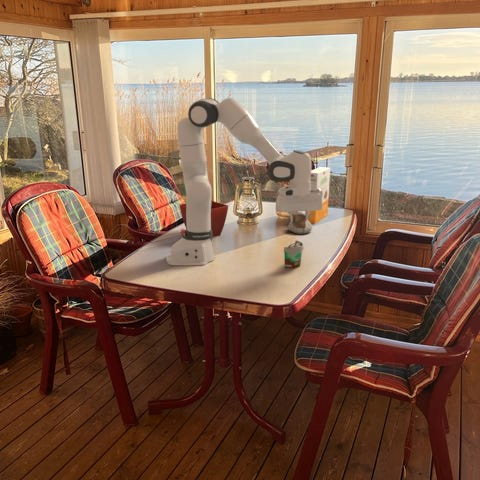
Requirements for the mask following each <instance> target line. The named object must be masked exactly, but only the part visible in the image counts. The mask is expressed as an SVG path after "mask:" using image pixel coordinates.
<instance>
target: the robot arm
mask: <svg viewBox="0 0 480 480" xmlns="http://www.w3.org/2000/svg"><path fill="white" fill-rule="evenodd" d="M187 111H188V112H187V117H184V118H182V119H180V120H179V121H178V122H177V144H178V151H179V155H180V157H179V158H180V164H181V169H182V170H181V171H182V177H183V183H184V189H185V195H186V197H185V199H186V201H185V202H186V203H185V204H186V222H187V229H186V228H185V229H184V228H181V229H180V234H181V235H182V237H181V238H180V239H179V240H178V241H176V242H175V243H173V244H172V246H171V247H170V248H171V249H170V253H168V254H167V255H166V257H165V261H166V263H167V264H168V265H170V266H205V265H206V264H208V263H210V262H212V261H214V260H215V259H216V257H215V254H214V249H213V243H212V241H213V237H212V229H211V201H212V197H213V196H212V195H213V194H212V193H213V189H212V185H211V183H210V180H209V175H208V165H207V163H208V162H207V161H208V160H207V156H206V155H207V154H206V148H205V147H206V146H205V140H204V129H205V128H206V127H210V126H212V125H213V124H215V123H217V122H218V123H221V124H222V125H223V126H224V127H225V128H226V129H227V130H228V131H229V133H230V134H231V135H232V136H233V137H234V138H235V139H236V140H237V141H239V142H240V143H243V144H246V145H249V146H251V147H254V149H256V150H257V152H258V153H260V155H261V156H262V157H263V158H264V159H265V160H266V162H267V163H268V169H267V174H268V177H269V179H271V180H272V181H274V182H276V183H282V182H289V184H288V185H285V186H283V187H280V188H278V193H279V194H278V195H277V197H276V201H275V209H276V211H277V212H278V213H287V214H288V215H289V218H290V219H289V220H290V222H295V217H293V216H292V214H293V212H306V214H305V213H304V215H305V216H306V221H307V217H308V216H309V214H310V211H315V210H321V209H322V196H323V192H322V190H320V189H310V188H311V181H310V175H311V171H312V157H311V155H310V153H308V152H306V151H302V150H293V151H292V152H290V153H289V154H287V155H286V154H283V153H282V152H279V150H277V148H275V146H274V145H273V143H272V142H270V141H269V140H268V139H267V137H266V135H264V132H263V131H262V130H261V128H260V126H259V125H258V124H257V123H258V122H256V120H255V119H254V117H253V116H252V115H251V113H250V112H249V111H248V110H247V109H246V108H245V107H244V106H243V105H242V104H241V103H240V102H238V101H237V100H236V99H235V98H233V97H227V98H225V99H223V100H222V101H220V102H219V101H217V100H216V99H215V98H212V97H206V98H201V99H199V100H196V101H195V102H193V103H192V104H191V105H190V106H189V108H188V110H187Z"/></svg>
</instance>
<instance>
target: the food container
mask: <svg viewBox="0 0 480 480" xmlns="http://www.w3.org/2000/svg"><path fill="white" fill-rule="evenodd" d="M304 249H305V247H304V244H303V242H302V241H300V240H295V242H294V243H291V244H289V245H288V246H287V247H286V246H284V247H283V252H284V258H283V259H284V269H298V268H299V267H301V262H302V255H303V254H302V253H303V251H304ZM297 267H298V268H297Z"/></svg>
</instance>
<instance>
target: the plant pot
mask: <svg viewBox="0 0 480 480" xmlns="http://www.w3.org/2000/svg"><path fill="white" fill-rule="evenodd" d="M179 210H180V214H181V215H180V216H181V218H182V221H183V223H184V226H185V230H186V229H187V222H186V203H181V204H179ZM228 210H229V205H228V204H225V203H221V202H217V201H214V200H211V229H212V238H215V237H218V236H219V237H220V236H222V235H221V234H222V233H223V230H224V227H225V224H226V220H227V216H228Z"/></svg>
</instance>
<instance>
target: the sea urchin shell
mask: <svg viewBox="0 0 480 480" xmlns="http://www.w3.org/2000/svg"><path fill="white" fill-rule="evenodd" d="M287 229H288V230H289V231H290V232H292V233H294V234H299V235H301V234H302V235H305V234H309V233H310V232H311V231H312V229H313V224H311V223H310V222H309V221H308V220H307V221H306V226H305V228H295V226H294V225H293V224H292V222H291V221H290V222H289V223H288V226H287Z"/></svg>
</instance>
